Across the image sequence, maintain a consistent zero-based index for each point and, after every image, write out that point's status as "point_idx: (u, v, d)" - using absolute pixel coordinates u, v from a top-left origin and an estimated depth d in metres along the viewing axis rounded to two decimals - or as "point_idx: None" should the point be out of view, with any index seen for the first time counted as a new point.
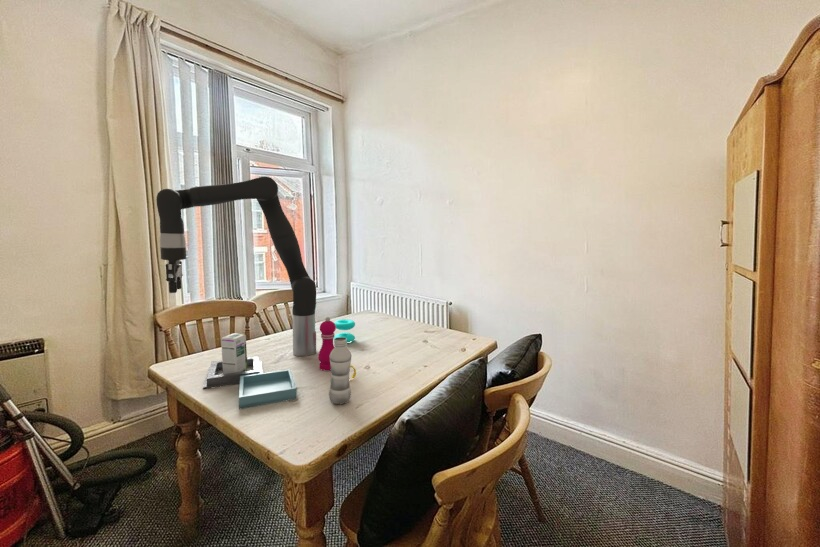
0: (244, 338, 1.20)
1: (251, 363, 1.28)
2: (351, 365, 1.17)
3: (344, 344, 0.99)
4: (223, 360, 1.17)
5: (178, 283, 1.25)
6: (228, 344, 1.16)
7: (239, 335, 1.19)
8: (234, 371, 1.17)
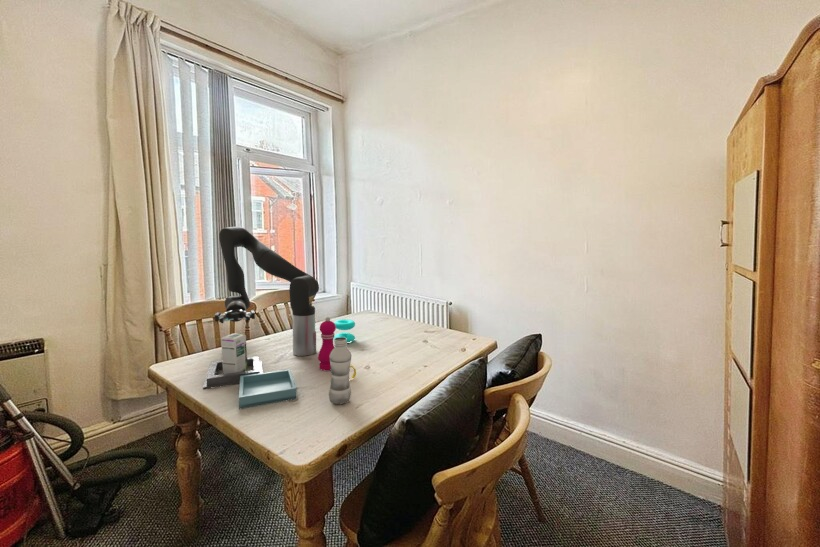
0: (244, 338, 1.20)
1: (251, 363, 1.28)
2: (351, 365, 1.17)
3: (344, 344, 0.99)
4: (223, 360, 1.17)
5: None
6: (228, 344, 1.16)
7: (239, 335, 1.19)
8: (234, 371, 1.17)
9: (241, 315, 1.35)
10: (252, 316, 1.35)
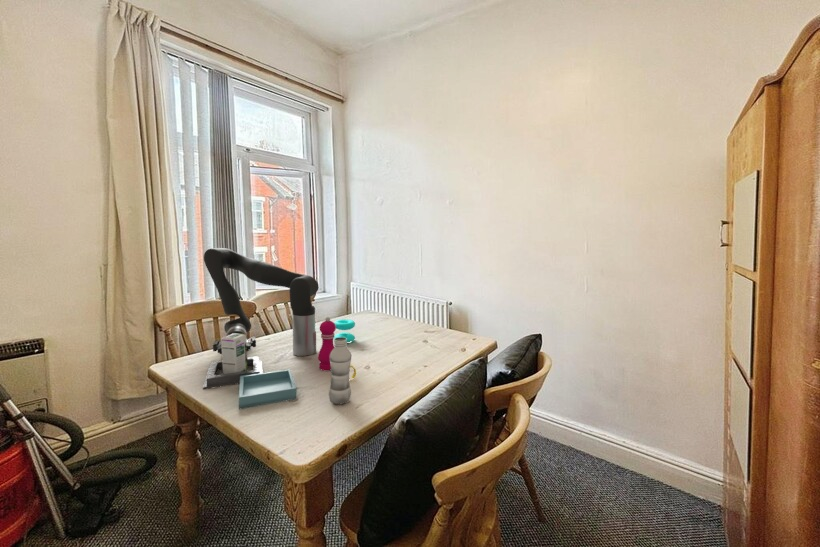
0: (244, 338, 1.20)
1: (251, 363, 1.28)
2: (351, 365, 1.17)
3: (344, 344, 0.99)
4: (223, 360, 1.17)
5: None
6: (228, 344, 1.16)
7: (239, 335, 1.19)
8: (234, 371, 1.17)
9: None
10: (253, 344, 1.26)
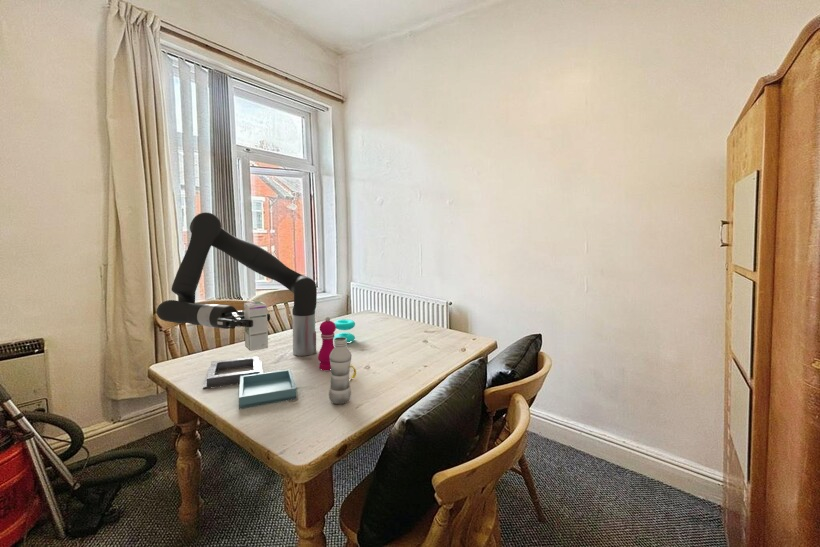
0: None
1: (251, 363, 1.28)
2: (351, 365, 1.17)
3: (344, 344, 0.99)
4: (251, 332, 1.03)
5: None
6: (258, 312, 1.03)
7: (261, 302, 1.07)
8: (265, 341, 1.06)
9: None
10: None
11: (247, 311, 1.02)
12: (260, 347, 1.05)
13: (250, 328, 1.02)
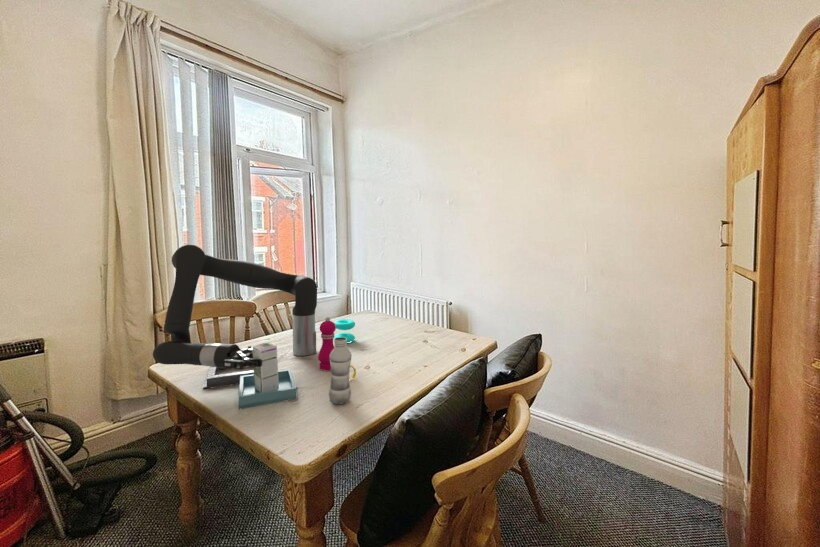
0: None
1: None
2: (351, 365, 1.17)
3: (344, 344, 0.99)
4: (262, 375, 1.03)
5: None
6: (269, 354, 1.04)
7: (269, 344, 1.08)
8: (276, 382, 1.07)
9: (252, 354, 1.09)
10: None
11: (258, 355, 1.03)
12: (272, 389, 1.06)
13: (262, 371, 1.03)
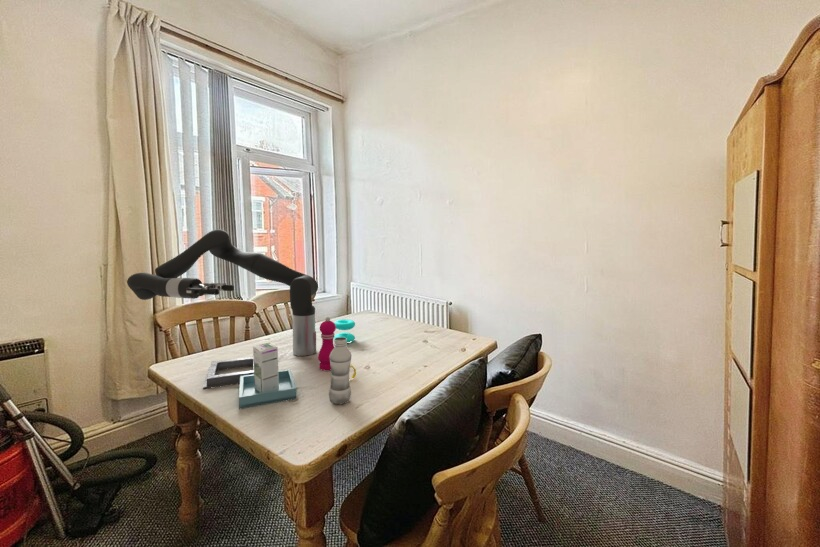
0: None
1: (251, 363, 1.28)
2: (351, 365, 1.17)
3: (344, 344, 0.99)
4: (263, 376, 1.03)
5: (227, 287, 1.26)
6: (270, 355, 1.04)
7: (270, 344, 1.07)
8: (276, 383, 1.07)
9: (213, 288, 1.25)
10: None
11: (259, 356, 1.02)
12: (272, 390, 1.06)
13: (262, 372, 1.03)
